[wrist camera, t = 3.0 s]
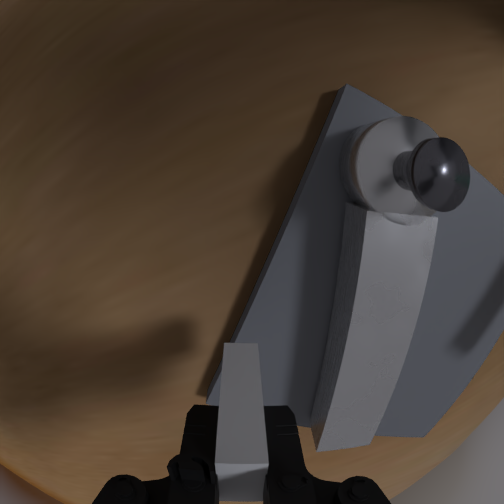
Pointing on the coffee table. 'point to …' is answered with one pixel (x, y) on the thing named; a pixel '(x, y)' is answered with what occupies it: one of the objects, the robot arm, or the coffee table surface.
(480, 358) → the plate
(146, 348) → the coffee table surface
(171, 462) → the robot arm
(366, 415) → the link
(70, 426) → the coffee table surface
